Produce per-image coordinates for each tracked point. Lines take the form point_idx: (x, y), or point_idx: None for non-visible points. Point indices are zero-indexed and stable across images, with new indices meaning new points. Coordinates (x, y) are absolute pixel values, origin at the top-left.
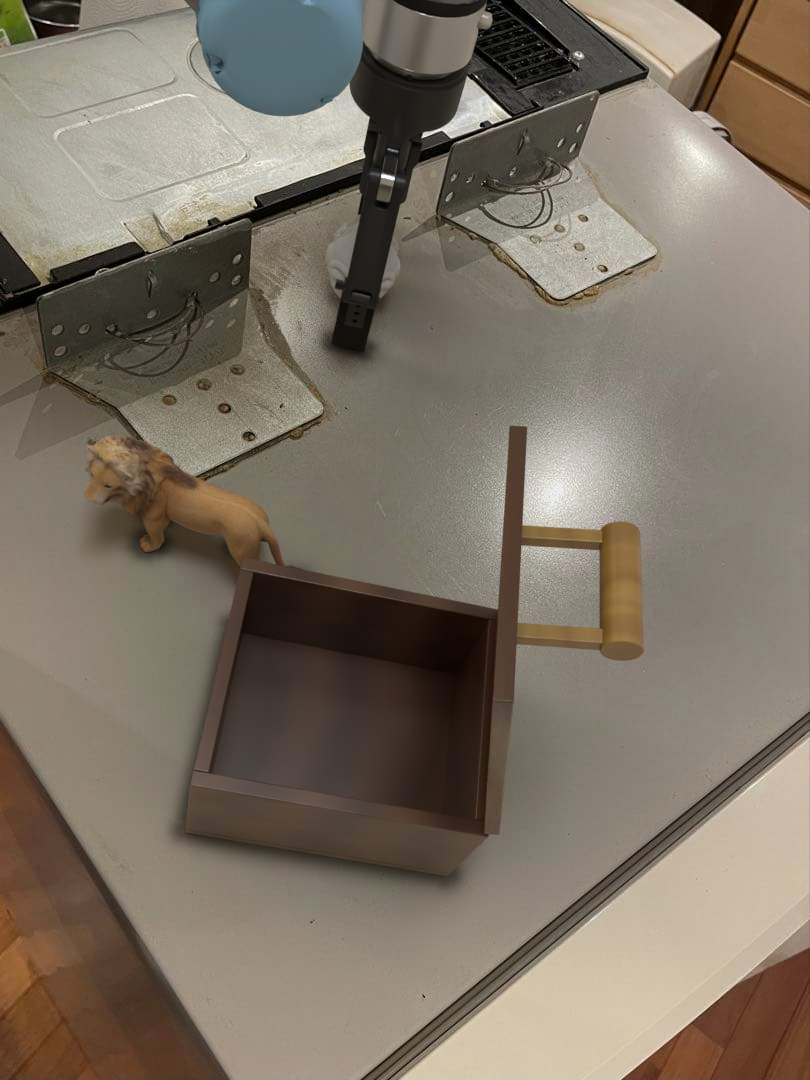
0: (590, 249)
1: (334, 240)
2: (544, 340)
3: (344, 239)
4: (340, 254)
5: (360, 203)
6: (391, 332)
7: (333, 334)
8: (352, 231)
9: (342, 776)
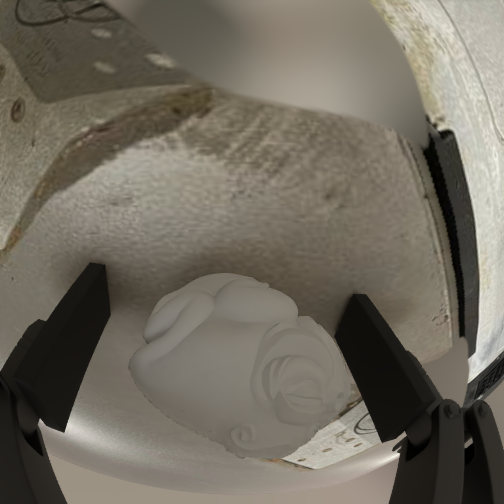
0: (323, 453)
1: (271, 329)
2: (205, 446)
3: (232, 381)
4: (190, 355)
5: (396, 360)
6: None
7: (79, 276)
8: (254, 408)
9: None
